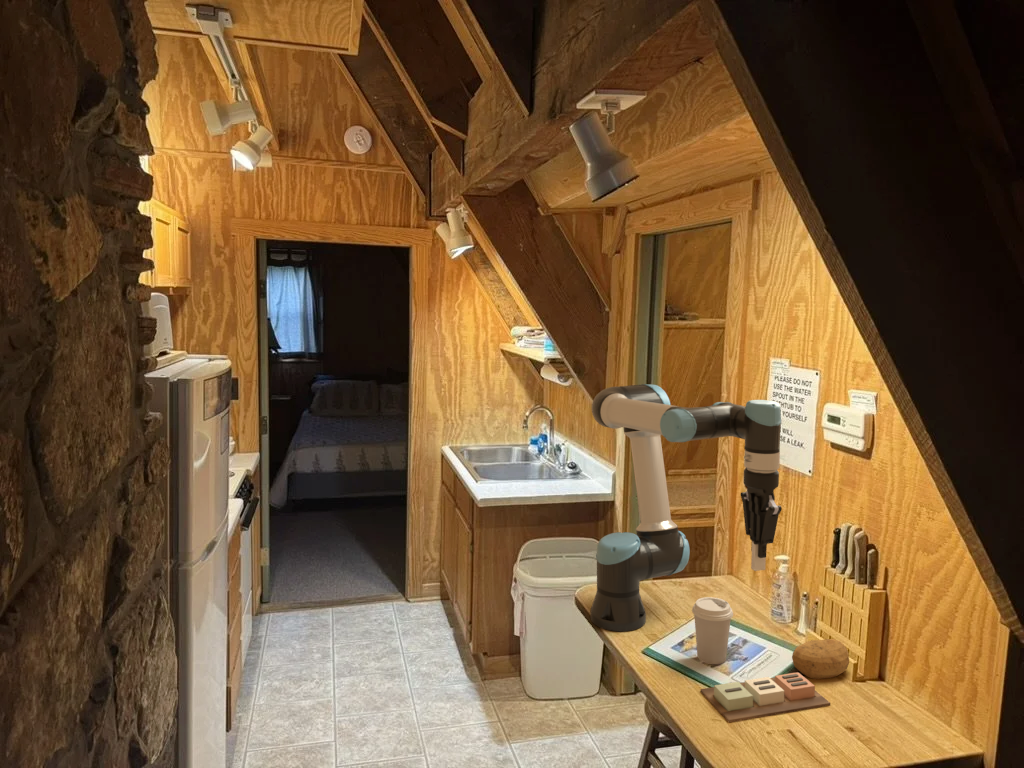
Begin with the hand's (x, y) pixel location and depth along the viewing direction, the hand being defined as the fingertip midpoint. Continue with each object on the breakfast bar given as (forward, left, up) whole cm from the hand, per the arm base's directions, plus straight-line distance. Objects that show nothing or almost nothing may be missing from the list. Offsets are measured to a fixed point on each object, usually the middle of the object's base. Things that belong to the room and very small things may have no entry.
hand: (758, 569), depth 163 cm
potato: (+4, +14, -26) cm, 30 cm away
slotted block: (+11, -12, -26) cm, 30 cm away
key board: (+11, -5, -26) cm, 29 cm away
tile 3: (+11, +3, -26) cm, 28 cm away
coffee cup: (-8, -7, -26) cm, 28 cm away
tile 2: (+11, -5, -26) cm, 28 cm away
